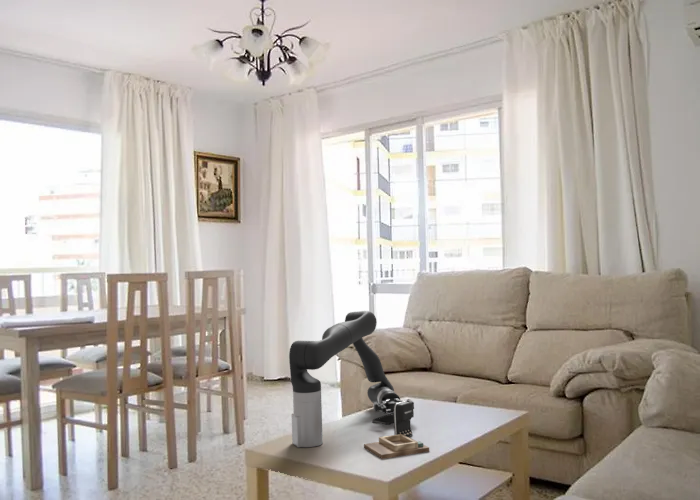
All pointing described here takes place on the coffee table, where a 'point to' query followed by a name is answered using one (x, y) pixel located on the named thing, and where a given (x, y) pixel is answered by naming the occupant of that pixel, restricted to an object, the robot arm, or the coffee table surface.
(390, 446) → the board
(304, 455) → the coffee table surface
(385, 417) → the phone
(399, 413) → the battery charger
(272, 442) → the coffee table surface
